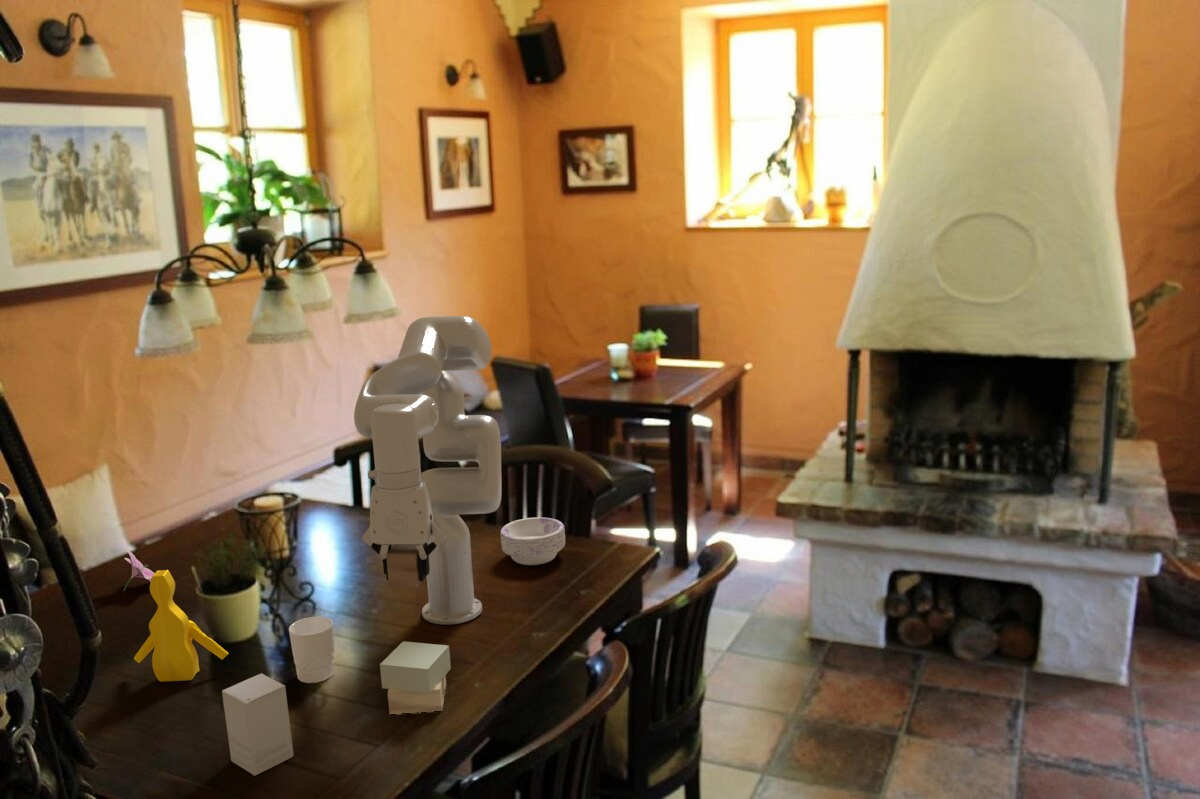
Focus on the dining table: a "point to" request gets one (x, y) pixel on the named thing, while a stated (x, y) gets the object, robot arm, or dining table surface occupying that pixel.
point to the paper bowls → (533, 540)
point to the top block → (415, 667)
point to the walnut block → (403, 566)
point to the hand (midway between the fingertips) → (407, 577)
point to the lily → (138, 569)
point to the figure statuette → (173, 635)
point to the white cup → (313, 648)
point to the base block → (417, 700)
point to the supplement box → (258, 723)
